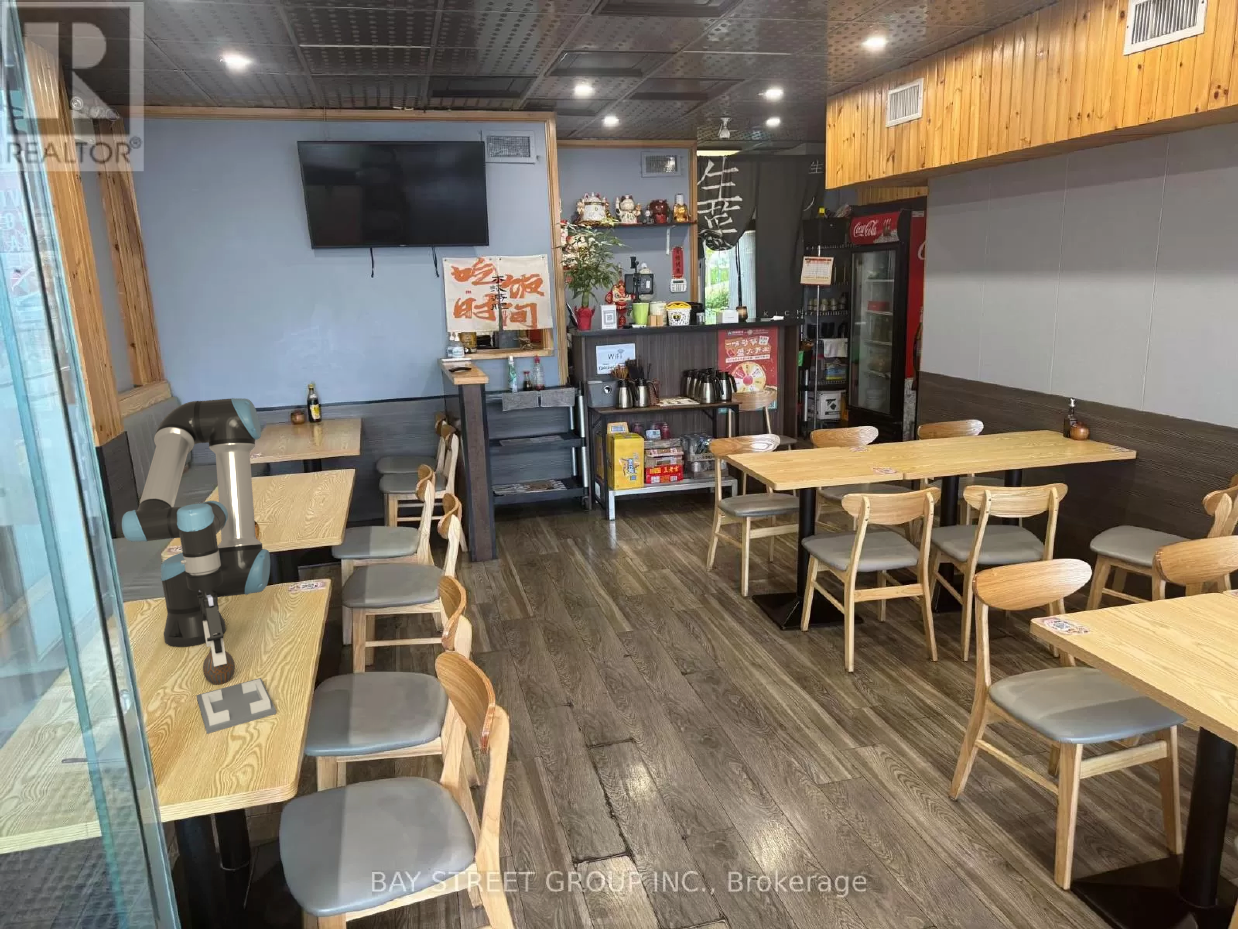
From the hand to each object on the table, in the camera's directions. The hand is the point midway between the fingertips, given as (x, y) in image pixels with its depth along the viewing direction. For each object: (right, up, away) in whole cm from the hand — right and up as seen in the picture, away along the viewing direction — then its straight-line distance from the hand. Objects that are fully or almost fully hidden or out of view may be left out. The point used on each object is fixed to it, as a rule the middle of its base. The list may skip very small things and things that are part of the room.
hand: (216, 654), depth 199 cm
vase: (0, -7, +2) cm, 7 cm away
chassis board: (+10, -9, -11) cm, 17 cm away
